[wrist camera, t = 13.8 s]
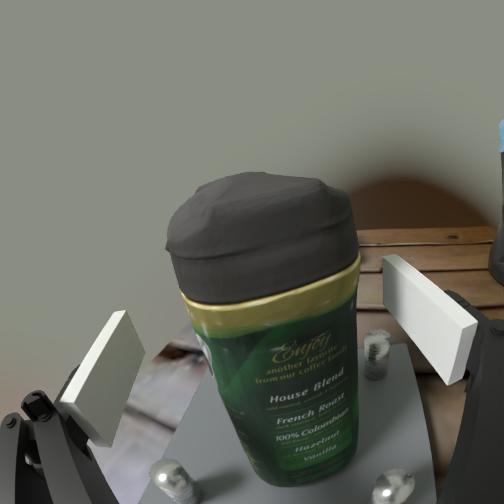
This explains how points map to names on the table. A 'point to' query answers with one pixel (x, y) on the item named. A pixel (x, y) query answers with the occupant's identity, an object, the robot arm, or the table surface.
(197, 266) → the coffee jar
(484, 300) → the table surface
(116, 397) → the robot arm
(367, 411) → the base plate
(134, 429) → the table surface
